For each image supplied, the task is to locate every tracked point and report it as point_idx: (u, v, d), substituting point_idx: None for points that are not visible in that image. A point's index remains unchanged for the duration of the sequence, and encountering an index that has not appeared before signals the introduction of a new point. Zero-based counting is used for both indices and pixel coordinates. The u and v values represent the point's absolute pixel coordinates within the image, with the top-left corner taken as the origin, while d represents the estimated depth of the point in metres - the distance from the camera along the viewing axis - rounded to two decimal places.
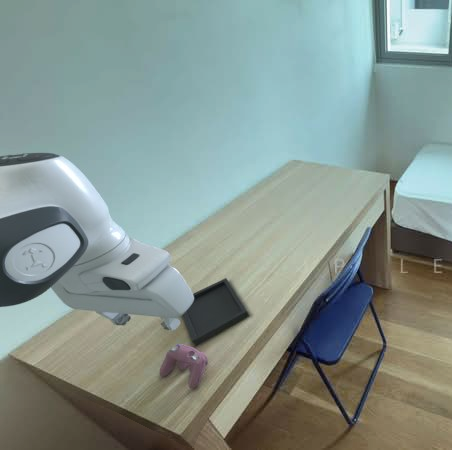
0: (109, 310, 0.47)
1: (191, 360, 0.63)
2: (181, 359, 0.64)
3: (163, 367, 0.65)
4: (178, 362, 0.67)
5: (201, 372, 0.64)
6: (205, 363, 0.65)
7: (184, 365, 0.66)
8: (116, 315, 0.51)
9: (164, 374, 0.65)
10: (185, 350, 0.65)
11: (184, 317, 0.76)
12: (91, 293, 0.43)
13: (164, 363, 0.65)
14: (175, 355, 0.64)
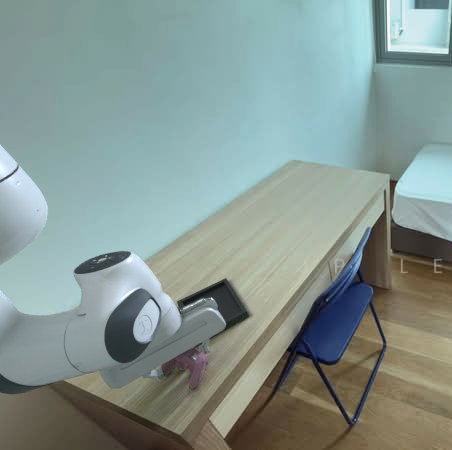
0: None
1: (191, 360, 0.63)
2: (181, 359, 0.64)
3: (163, 367, 0.65)
4: (178, 362, 0.67)
5: (200, 372, 0.64)
6: (205, 363, 0.65)
7: (184, 365, 0.66)
8: (202, 346, 0.67)
9: None
10: None
11: None
12: None
13: (164, 363, 0.65)
14: None
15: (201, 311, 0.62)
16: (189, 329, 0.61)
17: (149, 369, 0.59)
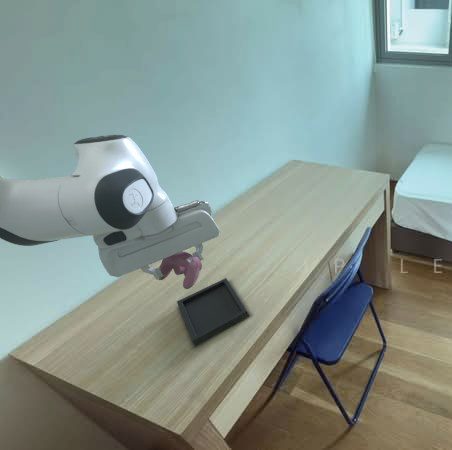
0: None
1: (185, 262, 0.66)
2: (176, 261, 0.66)
3: None
4: (174, 268, 0.69)
5: (194, 274, 0.67)
6: (199, 267, 0.67)
7: (180, 270, 0.69)
8: (196, 253, 0.70)
9: (160, 278, 0.68)
10: (180, 254, 0.67)
11: (184, 317, 0.76)
12: None
13: (160, 267, 0.68)
14: (171, 257, 0.67)
15: (196, 211, 0.65)
16: (184, 228, 0.64)
17: (146, 262, 0.62)
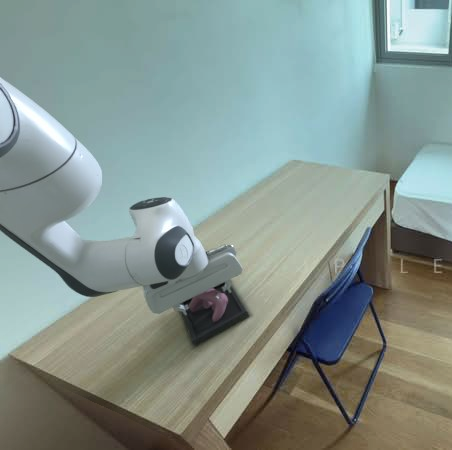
0: None
1: (214, 298, 0.76)
2: (206, 298, 0.76)
3: (191, 305, 0.78)
4: (203, 302, 0.80)
5: (222, 309, 0.77)
6: (226, 302, 0.77)
7: (209, 304, 0.79)
8: (225, 287, 0.80)
9: (192, 311, 0.78)
10: (209, 291, 0.77)
11: (184, 317, 0.76)
12: None
13: (192, 302, 0.78)
14: (202, 294, 0.77)
15: (223, 254, 0.75)
16: (214, 269, 0.74)
17: (182, 300, 0.72)
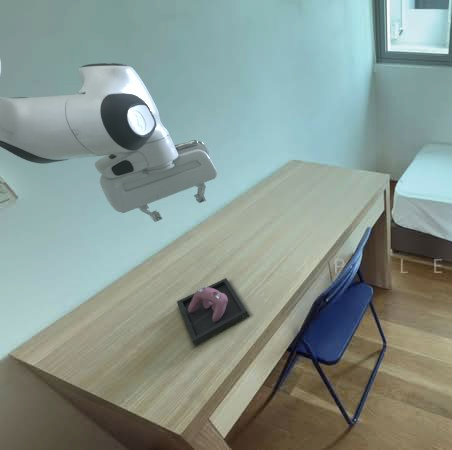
0: None
1: (214, 298, 0.76)
2: (206, 298, 0.76)
3: (191, 305, 0.78)
4: (203, 302, 0.80)
5: (222, 309, 0.77)
6: (226, 302, 0.77)
7: (209, 304, 0.79)
8: (198, 194, 0.72)
9: (192, 311, 0.78)
10: (209, 291, 0.77)
11: (184, 317, 0.76)
12: None
13: (192, 302, 0.78)
14: (202, 294, 0.77)
15: (195, 150, 0.67)
16: (185, 167, 0.67)
17: (150, 199, 0.63)
